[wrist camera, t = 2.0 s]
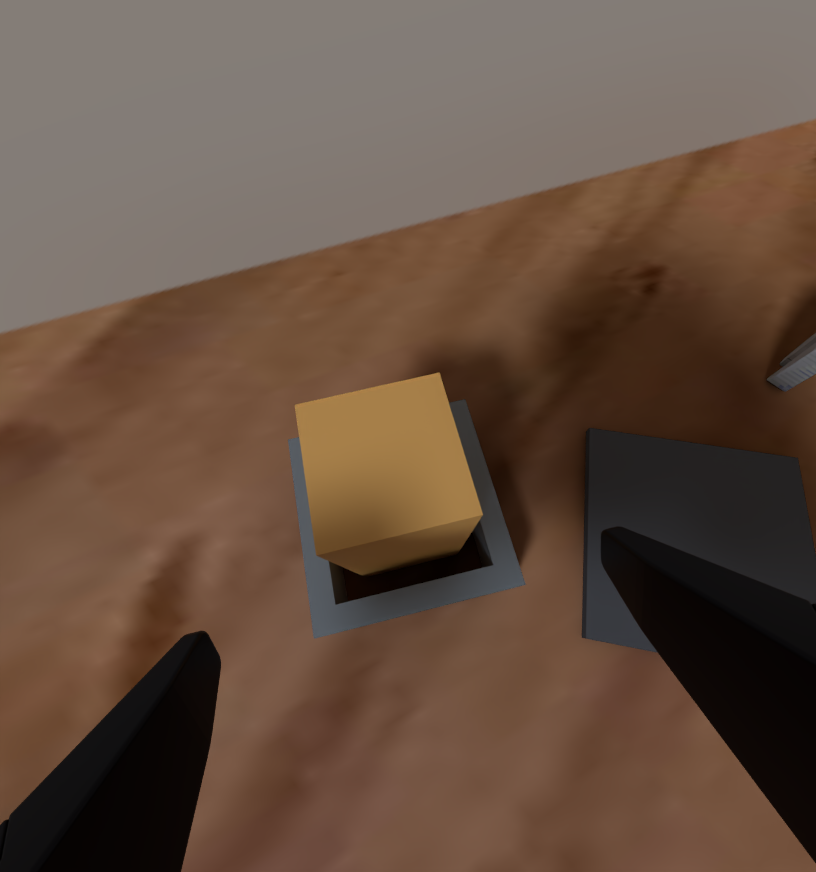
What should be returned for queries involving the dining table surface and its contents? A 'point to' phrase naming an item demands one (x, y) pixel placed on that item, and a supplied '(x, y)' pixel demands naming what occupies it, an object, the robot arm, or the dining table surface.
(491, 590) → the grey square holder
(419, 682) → the dining table surface
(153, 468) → the dining table surface
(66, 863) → the robot arm
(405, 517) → the block
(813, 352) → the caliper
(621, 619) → the mat
